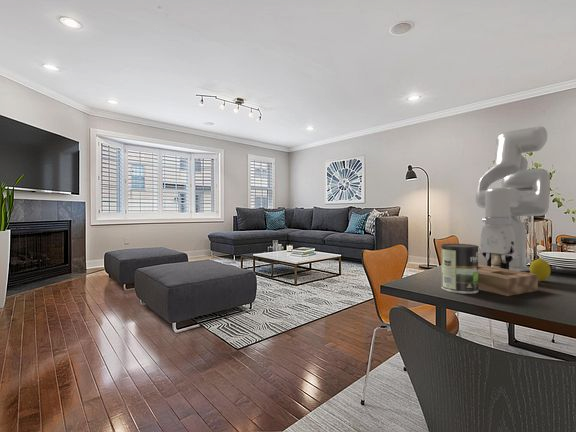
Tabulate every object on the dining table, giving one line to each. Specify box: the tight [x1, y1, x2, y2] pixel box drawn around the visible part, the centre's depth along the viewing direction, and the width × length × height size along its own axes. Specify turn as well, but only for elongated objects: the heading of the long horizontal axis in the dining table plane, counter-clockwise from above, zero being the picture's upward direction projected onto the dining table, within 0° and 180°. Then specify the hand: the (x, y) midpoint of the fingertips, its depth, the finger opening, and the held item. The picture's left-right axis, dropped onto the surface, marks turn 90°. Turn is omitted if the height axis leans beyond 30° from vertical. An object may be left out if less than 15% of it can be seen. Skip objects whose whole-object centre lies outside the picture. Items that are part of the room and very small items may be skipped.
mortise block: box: [478, 264, 539, 297], centre depth 100 cm, size 14×22×6 cm, turn 22°
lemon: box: [529, 257, 552, 282], centre depth 104 cm, size 6×6×8 cm
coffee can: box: [440, 243, 480, 295], centre depth 95 cm, size 10×10×14 cm
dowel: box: [491, 253, 503, 268], centre depth 109 cm, size 4×4×10 cm
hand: (497, 271), depth 109 cm, fingers closed on dowel, 4 cm apart
